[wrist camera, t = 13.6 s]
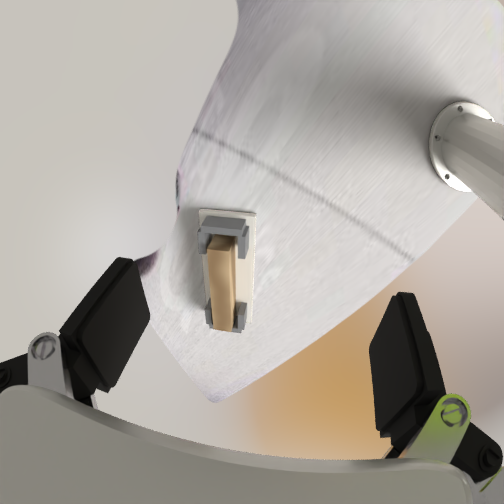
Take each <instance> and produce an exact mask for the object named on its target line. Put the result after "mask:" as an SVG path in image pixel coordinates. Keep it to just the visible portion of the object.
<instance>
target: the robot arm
mask: <svg viewBox="0 0 504 504" xmlns="http://www.w3.org/2000/svg"><path fill="white" fill-rule="evenodd" d="M435 136H436V138H435ZM429 151H430V157H431V161H432V164H433V166H434V169H435V171H436V172H437V174H438V175H439V177H440V178H441V179H442V180H443V181H444V182H445V183H446V184H448V185H449V186H450V187H452V188H454V189H456V190H459V191H464V192H470V191H473V192H474V193H475V194H476V195H477V196H478V197H479V198H481V199H482V200H483V201H484V202H485V203H486V204H487V205H488V206H489V207H490V208H491V209H492V210H494V211H495V212H496V213H497V214H498V215H499V216H500V217H501V218H502V219H503V220H504V125H502V124H499V123H496V122H495V121H494V119H493V118H492V116H491V115H490V114H489V113H488V112H487V111H486V110H485V109H484V108H482V107H481V106H479V105H477V104H474V103H471V102H465V101H462V102H455V103H453V104H450V105H448V106H447V107H445V108H444V109H443V110H442V111H441V112H440V113H439V114H438V116H437V118H436V119H435V121H434V123H433V126H432V128H431V132H430V137H429ZM445 174H446V175H445ZM149 320H150V312H149V308H148V305H147V301H146V297H145V294H144V290H143V286H142V282H141V278H140V274H139V270H138V266H137V264H135V263H134V261H133V260H132V259H128V258H121V257H118V258H116V259H115V261H114V262H113V263H112V264H111V265H110V266H109V268H108V269H107V270H106V271H105V272H104V274H103V275H102V276H101V277H100V279H99V280H98V281H97V282H96V283H95V285H94V286H93V287H92V288H91V289H90V291H89V292H88V293H87V295H86V296H85V297H84V298H83V300H82V301H81V302H80V304H79V305H78V306H77V308H76V309H75V310H74V312H73V313H72V314H71V315H70V317H69V318H68V320H67V321H66V322H65V323H64V325H63V326H62V328H61V329H60V330H59V332H60V335H59V336H57V335H56V334H54V333H50V332H46V333H42V334H40V335H38V336H37V337H35V338H34V339H33V340H32V341H31V343H30V345H29V347H28V353H26V354H24V355H21V356H18V357H15V358H13V359H10V360H7V361H4V362H1V363H0V504H504V466H503V467H502V466H501V464H502V460H503V455H502V450H501V448H500V446H499V445H498V444H497V443H496V442H495V441H494V440H492V439H491V438H490V437H489V436H488V435H486V434H485V433H484V432H483V431H481V430H480V429H479V428H478V427H476V426H475V425H474V424H473V423H471V422H470V419H471V410H470V407H469V405H468V403H467V401H466V400H465V399H464V398H463V397H461V396H459V395H457V394H452V393H451V394H446V391H445V387H444V382H443V378H442V375H441V370H440V367H439V363H438V359H437V356H436V353H435V349H434V346H433V343H432V340H431V336H430V334H429V332H428V331H427V329H426V326H425V323H424V320H423V317H422V314H421V311H420V308H419V306H418V303H417V300H416V297H415V295H414V294H413V293H407V292H398V293H397V295H396V296H392V298H391V300H390V302H389V305H388V307H387V309H386V311H385V314H384V316H383V318H382V320H381V322H380V325H379V327H378V329H377V331H376V333H375V335H374V337H373V339H372V341H371V343H370V347H369V356H370V364H371V373H372V383H373V394H374V406H375V422H376V429H377V430H378V431H380V438H385V437H391V447H390V448H389V449H388V451H387V452H386V453H385V455H384V456H383V457H382V458H381V459H373V460H318V459H300V458H288V457H278V456H269V455H261V454H254V453H247V452H240V451H235V450H230V449H224V448H219V447H214V446H209V445H205V444H201V443H196V442H193V441H189V440H185V439H181V438H177V437H174V436H170V435H167V434H163V433H160V432H157V431H153V430H151V429H147V428H144V427H141V426H138V425H135V424H133V423H130V422H127V421H125V420H122V419H119V418H117V417H114V416H111V415H109V414H107V413H104V412H102V411H99V410H98V407H97V404H96V400H95V395H94V392H95V390H96V388H97V389H99V390H101V391H104V392H107V393H108V392H109V390H110V388H111V387H114V386H115V385H116V383H117V381H118V379H119V377H120V375H121V373H122V371H123V369H124V367H125V366H126V364H127V362H128V360H129V358H130V356H131V354H132V352H133V350H134V348H135V347H136V345H137V343H138V341H139V339H140V337H141V335H142V333H143V332H144V330H145V328H146V326H147V324H148V323H149Z"/></svg>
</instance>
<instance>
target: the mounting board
mask: <svg viewBox="0 0 504 504" xmlns="http://www.w3.org/2000/svg"><path fill="white" fill-rule="evenodd" d="M199 226H200V229H199V230H198V232H197V233H198V245H199V254H202V265H203V276H204V287H205V297H206V308H205V316H206V324H209V326H210V328H212V329H214V328H213V318H212V307H211V295H210V283H209V271H208V257H207V248H208V246H209V244H210V243H211V241H212V239H213V237H214V235H215V234H219V235H228V236H235V256H236V317H235V320H234V324H233V327H232V331H231V332H236V333H241V331H242V330H244V327H245V323H251V321H252V306H253V283H254V259H255V235H256V214H255V213H245V212H234V211H223V210H212V209H200V210H199Z"/></svg>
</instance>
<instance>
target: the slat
mask: <svg viewBox="0 0 504 504" xmlns="http://www.w3.org/2000/svg"><path fill="white" fill-rule="evenodd" d="M207 257H208V271H209V283H210V295H211V307H212V318H213V328H214V329H215V330H221V331H228V332H231V331H232V327H233V324H234V320H235V317H236V256H235V236H228V235H219V234H215V235H214V237H213V239H212V241H211V243H210V244H209V246H208V248H207Z"/></svg>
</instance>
